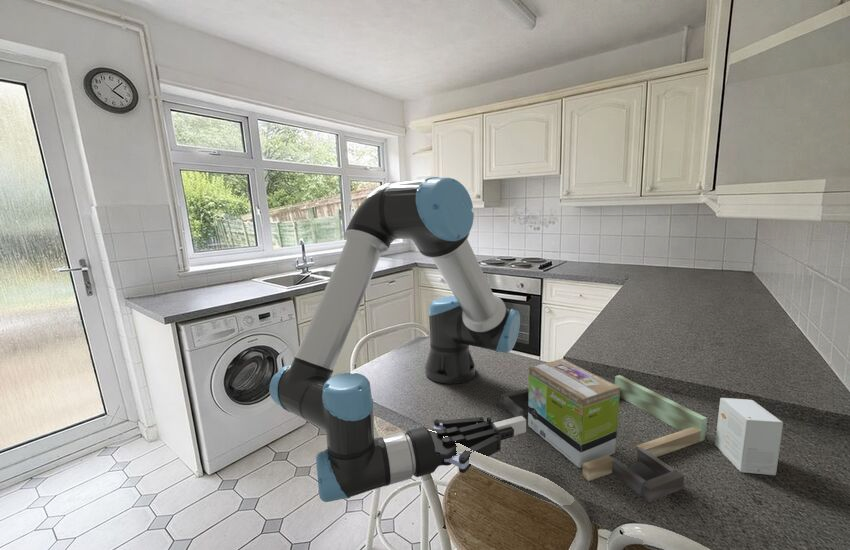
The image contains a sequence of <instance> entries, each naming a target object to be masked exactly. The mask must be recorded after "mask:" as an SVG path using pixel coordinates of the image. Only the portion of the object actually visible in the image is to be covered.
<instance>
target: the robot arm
mask: <svg viewBox="0 0 850 550" xmlns="http://www.w3.org/2000/svg"><path fill="white" fill-rule="evenodd" d="M473 208H474V206H473V201H472V198H471V195H470V193H469V192H468V189H467V188H466V187H465V186H464V185H463V184H462V182H460V181H459V180H457V179H455V178H451V177H438V176H432V177H426V178H424V179H416V180H415V179H414V180H404V181H390V182H386V183H384V184H381V185H380V186H377V188H375V189H374V190H372V191H371V192H370V193H369V194H368V195H367V196H366V197H365V198H364V199H363V201H362V202H361V203H360V205H359V206H358V207H357V209H356V210H355V211H354V213H353V215H352V217H351V219H350V221H349V223H348V225H347V227H346V229H345V231H344V233H343V235H344V237H345V239H346V242H345V243H344V245H343V248H342V250H341V253H340V255H339V257H338V259H337V262H336V263H335V266H334V268H333V270H332V273H331V275H330V277H329V279H328V282H327V284H326V285H325V289H324V290H323V293H322V295H321V297H320V300H319V302H318V304H317V307H316V308H315V311H314V313H313V315H312V317H311V320H310V322H309V324H308V326H307V329H306V332H305V333H304V335H303V338H302V339H301V340H302V341H301V342H300V344H299V347H298V349H297V351H296V353H295V356H294V358H293V360H292V363H291V364H289V365H284V366H282V367H281V368H280V369H279V370H278V371H277V372H276V373H275V374H273V376H272V378H271V380H270V383H269V389H268V390H269V395H270V398H271V400H272V401H273V402H274V403H275V404H277V405H279V406H280V407H281V408H282V409H283V410H285V411H287V412H288V413H291V414H294V415H295V416H298V417H300V418H301V419H303V420H305V421H307V422H309V423H311V424H313V425H314V426H316V427H318V428H320V429H322V430H323V431H325V436H326V446H327V449H325V450H322V451H319V452H318V453H317V454H316V456H315V461H316V462H315V463H316V465H315V466H316V475H317V485H318V496H319V499H320V500H321V501H322V502H324V503H328V502H329V503H330V502H335V501H339V500H344V499H346V500H347V499H350V498H352V497H355V496H358V495H361V494H363V493H367V492H370V491H373V490H376V489H379V488H383V487H387V486H390V485H393V484H397V483H401V482H405V481H408V480H411V479H412V478H413V476H414V477H415V478H419V477H420V478H421V477H424V476H427V475H430V474H434V473H435V471H436V469H437V468H439V467H440V466H451V465H453V466H456V467H458V472H459V473H461V474H465V473H466V472H468V471H469V469H470V468H471V467H472V466H471V464H469V457H470V454H471V453H472V452H470V451H472V450H473V452H474V451H476V452H478V453H481V454H483V455H486V456H488V457H487V458H489V457H491V456H492V455H494V454H497V453H498V452H500V451H501V448H502V447H501V446H502V444H501V442H502V441H504V440H507V439H512V438H513V437H515V436H517V435H520V434H524V433H527V419H526V417H523V416H518V417H515V416H513V417H511V418H508V419H499V420H496V421H492V418H491V417H486V420H485V418H484V417H482V416H478V417H477V416H476V417H466V418H456V419H455V418H454V419H453V418H452V419H441V418H440V419H439V418H435V419H434V420H433V428H430V429H428V428H427V427H425V426H422V427H417V428H414V429H413V428H412V429H409V430H407V431H406V432H403V431H399V432H395V433H392V434H391V433H390V434H388V435H383V436H380V437H376V438H375V430H374V429H375V427H374V409H373V408H374V399H373V397H372V389H371V382H370V380H369V379H368V378H367V377H366V376H365V375H363V374H362V373H357V372H356V373H351V372H343V373H340V374H339V373H338V374H336V375H334V376H333V373H334V370H335V367H336V364H337V363H338V360H339V357H340V355H341V352H342V350H343V347H344V345H345V343H346V340H347V338H348V336H349V332H350V331H351V328H352V326H353V323H354V320H355V318H356V317H357V313H358V312H359V309H360V306H361V304H362V301H363V300H364V296H365V294H366V292H367V290H368V287H369V285H370V282H371V280H372V277H373V276H374V275H373V274H374V272H375V270H376V268H377V265H378V263H379V260H380V258H381V256H382V255H385V254H387V253H388V251H389V249H390V246H391V245H392V244H391V243H393V242H394V241H395V240H400V239H401V240H411V241H413V243H414V245H415V246H416V248H417V250H418V251H419V253H420V255H422V256H423V257H426V258H429V259H432V261H433V262H434V265H435V266H436V267H437V269H438V270H439V272H440V275H441V276H442V277H443V279H444V281H445V283H446V285H447V286H448V288H449V289H450V291H451V293H452V296H444V297H439V298H436V299H434V300H432V301H431V302H430V303H429V309H428V310H429V313H428V318H429V319H428V320H429V347H430V348H429V352H428V355H427V357H426V361H425V365H424V370H425V371H424V372H425V376H426V378H427V379H429V380H431V381H433V382H436V383H441V384H447V385H448V384H449V385H450V384H459V383H460V384H461V383H465V382H467V381H470V380H471V379H473V378H474V377H475V375H476V365H475V361H474V358H473V355H472V353H471V349H470V347H472V346H473V347H476V348H480V349H485V350H489V351H493V352H496V353H504V354H506V353H507V354H508V353H510V352H511V351H512V350H513V348H514V347H515V345H516V342H517V339H518V337H519V333H520V326H521V316H520V313H519V311H518V310H515V309H513V308H511V309H509V308H507V306H506V304H505V302H504V301H503V300H502V299H501V298H500V297H499V296H497V295H495V294H494V293H493V290H492V289H491V287H490V284H489V282H488V280H487V278H486V276H485V274H484V271H483V270H482V268H481V265H480V263H479V261H478V259H477V257H476V255H475V253H474V250H473V249H472V246H471V244H470V241H469V240H468V238H469V236H470V232H471V230H472V228H473V224H474V218H475V217H474V216H475V215H474V212H473ZM429 430H432V431H436V432H437V433H435V432H432V431H429ZM443 436H444V437H445V436H448V437H445V438H443ZM455 441H456V442H455ZM455 443H460V444H462V445H464V446H466V447H468V448H470V449H471V450H470V451H466V450H465V451H464V452H460V454H459V455H456V454H457V453H456V452H457V451H456V447H457V446H456V444H455ZM452 456H453V457H452Z"/></svg>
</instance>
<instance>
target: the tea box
mask: <svg viewBox="0 0 850 550" xmlns="http://www.w3.org/2000/svg"><path fill="white" fill-rule="evenodd" d="M528 370H529V371H528V389H529V401H528V416H527V425H528V427H529V428H530V429H532V430H533V431H534V432H535V433H536V434H537V435H539V437H541V438H542V439H543V440H545V441H546V442H547V443H549V444H550V445H551V446H552V447H553V448H554V449H556V450H557V451H558V452H559V453H561V454H562V455H563V456H564V457H565V458H567V460H569V461H570V462H571V463H572V464H573V465H575V467H577V468H578V469H580V468H583V463H585V462H588V461H591V460H594V459H597V458H600V457H603V456H606V455H609V456H610V457H611V456H612V455H614V454H615V453H616V446H617V435H618V423H619V422H618V421H619V411H620V410H619V409H620V387H619V386H617V385H615V383H612V382H610V381H609V380H606V379H604V378H603V377H601V376H598V375H596V374H594V373H593V372H591V371H588V370H586V369H585V368H582V367H581V366H579V365H576V364H574V363H573V362H571V361H568V360H566V359H564V358H559V359H556V360H553V361H549V362H544V363H541V364H537V365H533V366H529V369H528Z"/></svg>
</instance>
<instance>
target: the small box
mask: <svg viewBox="0 0 850 550" xmlns="http://www.w3.org/2000/svg"><path fill="white" fill-rule="evenodd" d="M718 407H719V408H718V415H717V425H716V433H715V434H716V435H715V441H714V442H715V443H714V445H715V447H717V448H718V449H719V451H720V452H721V453H722V454H723V455H724V456H725V457H726V458H727V460H729V461H730V463H732V465H734V467H735V468H736V469H737V470H738V471H739V472H740V473H744V474H745V473H746V474H759V475H767V476H776V475H777V470H778V469H777V468H778V465H779V464H778V462H779V457H780V456H779V455H780V449H781V442H782V435H783V434H782V433H783V429H784V428H783V426H784V421H782V420H780V419H779V418H778V417H776V416H775V415H774V414H772V413H771V412H769V411H768V410H767V409H765V408H764V407H763V406H761V405H760V404H759V403H757V402H756V401H755V400H753V399H745V398H732V397H731V398H730V397H729V398H728V397H721V398H719V406H718Z"/></svg>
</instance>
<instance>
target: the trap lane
mask: <svg viewBox="0 0 850 550" xmlns="http://www.w3.org/2000/svg"><path fill="white" fill-rule="evenodd" d="M614 384H615V385H617V386H619V387H620V398H621V399H622V400H624V401H626V403H630V405H633V406H635V407H637V408H638V409H640V410H641V411H644V412H646V413H647V414H649V415H651V416H653V417H654V418H656V419H658V420H660V421H662V422H664V423H665V424H667V425H669V426H671V427H672V428H674V429H676V430H678V431H676V432H673V433H670V434H668V435H664V436H661V437H658V438H654V439H652V440H649V441H646V442H644V443H640V444H637V445H635V453H634V455H635V456H634V457H635V458H636V461H637V462H635V463H633V464H630V465H626V464H624V463H623V462H621V461H620V460H619V459H617V458H616V457H615V456H611V455H610V456H609V455H606V456H603V457H600V458H597V459H594V460H591V461H588V462H585V463H583V467H582V470H581V471H582V472H581V476H582V477H583V478H584V479H585V480H586V481H588V482H590V481H593V480H597V479H598V478H602V477H605V476H607V475H610V474H613V475H614V476H615V477H616V478H617V479H619V480H620V481H621V482H623V483H624V484H625V485H626V486H628V487H629V488H630V489H631V490H633V491H634V492H635V493H636V494H637V495H639V496H640V497H641V498H643V499H644V501H646V502H647V503H652V502H654V501H657V500H658V499H661V498H663V497H666V496H668V495H671V494H675V493H676V492H678V491H681V490H683V489H684V481H685V475H683V474H682V473H680V471H678V470H676V469H675V468H674V467H672V466H670V465H669V464H667V463H666V462H664V461H663V460H661V459H659V457H660V456H663V455H667V454H669V453H672V452H675V451H678V450H680V449H681V450H682V449H683V448H687V447H689V446H692V445H694V444H698V443H700V442H703V441H705V440H706V431H707V422H708V418H707V417H706V416H704V415H702V414H700V413H698V412H696V411H694V410H692V409H691V408H688V407H686V406H683V405H682V404H681V403H680V404H679V403H677V402H676V401H673V400H671V399H670V398H668V397H665V396H663V395H661V394H659V393H657V392H655V391H653V390H652V389H649V388H647V387H645V386H643V385H640V384H639V383H636V382H634V381H633V380H631V379H629V378H626V377H624V376H623V375H621V374H619V375H615V376H614ZM620 398H619V399H620ZM528 401H529V387H528V388H524V389H519V390H515V391H510V392H506V393H502V394H500V404H501V406H502V407H504V408H505V409H506V411H508V412H509V413H510V414H511V415H512V416H513V417H518V416H523V417H524V418H528Z"/></svg>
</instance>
